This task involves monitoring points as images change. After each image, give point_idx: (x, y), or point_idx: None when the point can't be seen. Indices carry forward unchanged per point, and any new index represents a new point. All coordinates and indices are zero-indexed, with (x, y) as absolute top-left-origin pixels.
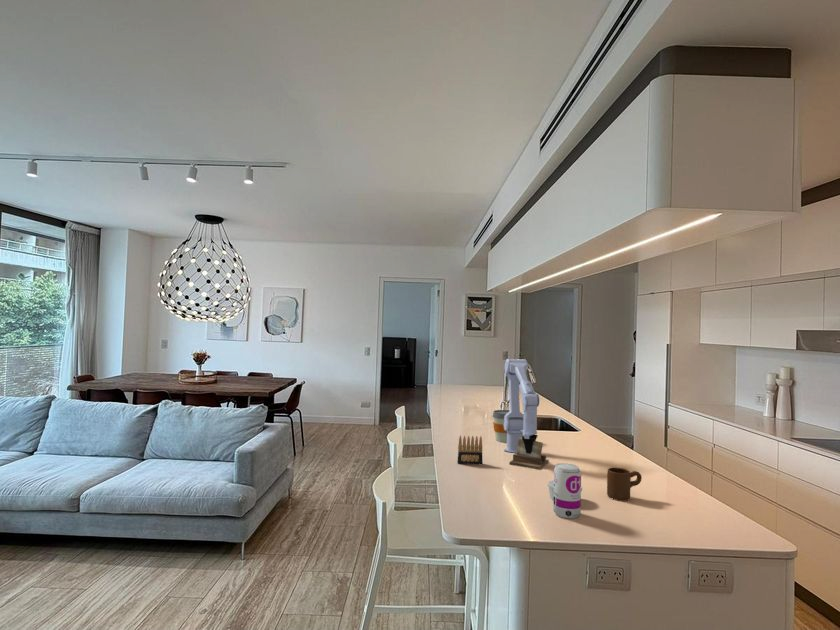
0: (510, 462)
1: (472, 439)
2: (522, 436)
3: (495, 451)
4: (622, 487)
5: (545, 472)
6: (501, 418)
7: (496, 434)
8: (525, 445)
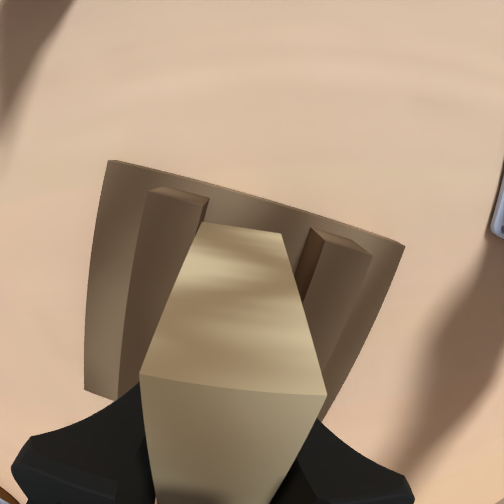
0: (107, 170)
1: None
2: (62, 485)
3: (490, 50)
4: None
5: (59, 401)
6: None
7: None
8: (117, 407)
